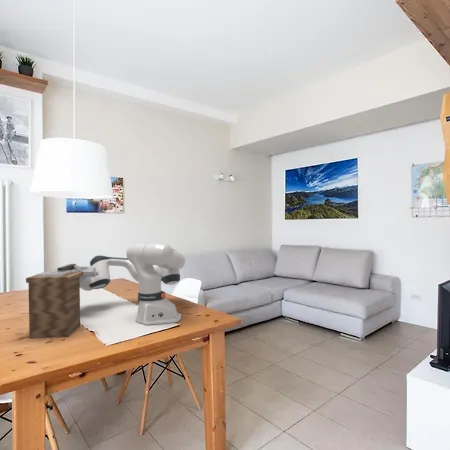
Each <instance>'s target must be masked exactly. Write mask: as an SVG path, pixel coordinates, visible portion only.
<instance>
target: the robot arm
mask: <svg viewBox="0 0 450 450" xmlns="http://www.w3.org/2000/svg"><path fill="white" fill-rule="evenodd" d="M125 254H126V257H113V256H106V255H95V256H93V258H92V259H90V260H89V265H90V266H89V265H88V266H80V265H78V264H76V265H73V268H74V269H73V270H72V272H77V271H83V276H81V277H80V290H84V291H87V292H90V291H93V290H99V289H100V290H101V289H103V288H105V287H107V286H108V285H109V284H110V283H111V275H110V267H111V266H113V267H115V266H116V267H124V268H125V269H126V270H127V271H128V273H129V274H130V276H131V277H132V278H133V280H135V281H136V282H138V293H137V303H138V308H137V314H136V317H135V321H136V322H137V323H139V324H142V325H145V326H153V325H163V324H172V323H173V324H174V323H177V322H180V321H181V319H182V314H181V313H179V312H178V311H177V308H176V304H174V303H173V302H172V301H170V300H169V299H167V298H166V291H163V290H162V283H164V284H165V285H169V286H172V285H175V284H178V283H179V282H180V280H181V273H180V272H181V271H180V269H182V268H183V267H184V266H185V264H186V259H185V256H184V255H183V254H182V253H180V252H178V251H177V250H175V249H173V248H172V246H171V245H170V244H166V243H162V242H135V243H131V244H129V245H128V247H127V249H126V253H125ZM59 267H60V266H56V267H55V268H54V271H58V268H59Z"/></svg>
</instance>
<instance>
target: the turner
mask: <svg viewBox="0 0 450 450" xmlns="http://www.w3.org/2000/svg"><path fill="white" fill-rule="evenodd" d="M73 265H77V264H76V263H70V264H66V265H63V266H58V267H59V268H58V271H55V270H47V271H43V272H40V273H37V274H36V275H37V277H63V276H65V275H68V274H71V273H72V270H73V269H74V268H73Z"/></svg>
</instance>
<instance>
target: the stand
mask: <svg viewBox="0 0 450 450" xmlns="http://www.w3.org/2000/svg"><path fill="white" fill-rule="evenodd" d="M81 276H83V271H77V272H72V273H71V274H68V275H65V276H63V277H37V274H35V275H32V276H29V277H25V283H26V284H28V325H29V326H28V329H29V330H28V331H29V334H28V335H29V336H28V337H29V339H42V338H43V339H47V338H68V337H69V336H71V335H72V334H73V333H74V332H76V330H78V329H79V328H80V327H81V293H80V292H81V288H80V277H81Z"/></svg>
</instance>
